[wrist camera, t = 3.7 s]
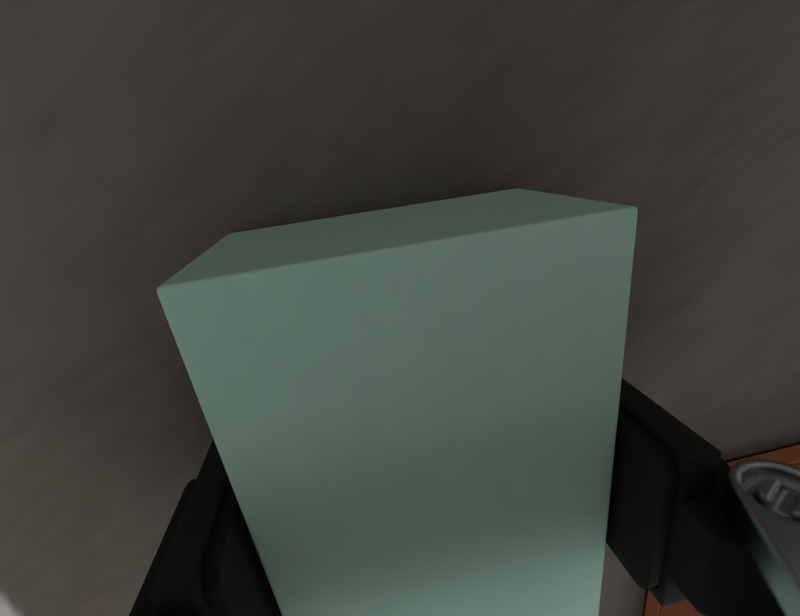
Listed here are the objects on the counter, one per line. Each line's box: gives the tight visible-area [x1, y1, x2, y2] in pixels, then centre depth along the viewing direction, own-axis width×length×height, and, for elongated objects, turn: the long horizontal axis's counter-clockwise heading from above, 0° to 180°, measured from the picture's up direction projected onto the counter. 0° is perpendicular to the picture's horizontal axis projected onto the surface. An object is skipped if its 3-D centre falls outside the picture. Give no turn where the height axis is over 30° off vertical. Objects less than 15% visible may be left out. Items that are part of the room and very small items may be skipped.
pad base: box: [157, 188, 638, 616], centre depth 8 cm, size 10×6×4 cm, turn 8°
